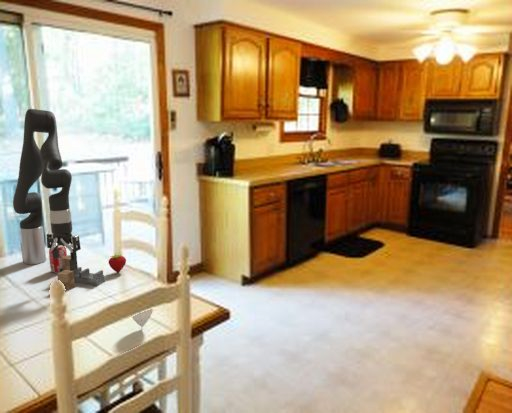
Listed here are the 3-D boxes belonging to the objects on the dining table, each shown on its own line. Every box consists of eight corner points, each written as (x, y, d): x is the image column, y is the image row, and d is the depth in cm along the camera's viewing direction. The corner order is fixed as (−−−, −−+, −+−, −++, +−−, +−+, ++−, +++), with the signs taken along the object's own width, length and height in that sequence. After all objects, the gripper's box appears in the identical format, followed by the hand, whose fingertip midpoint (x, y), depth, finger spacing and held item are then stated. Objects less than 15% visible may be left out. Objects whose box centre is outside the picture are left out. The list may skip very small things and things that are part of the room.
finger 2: (67, 291, 165) (66, 274, 163) (59, 289, 166) (57, 273, 165) (75, 286, 169) (74, 270, 168) (68, 285, 170) (66, 269, 169)
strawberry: (128, 273, 184) (126, 252, 181) (110, 276, 180) (109, 254, 178) (125, 269, 189) (123, 248, 186) (108, 272, 185) (106, 250, 183)
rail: (57, 280, 176) (56, 268, 174) (66, 275, 180) (65, 265, 179) (96, 286, 170) (95, 274, 168) (104, 281, 174) (103, 270, 173)
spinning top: (144, 320, 142) (143, 288, 139) (158, 328, 137) (157, 294, 134) (125, 329, 136) (123, 295, 133) (139, 337, 131) (137, 302, 129)
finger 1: (62, 273, 175) (61, 258, 173) (69, 270, 178) (68, 255, 177) (71, 275, 173) (70, 259, 172) (78, 271, 177) (76, 256, 175)
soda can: (71, 268, 189) (68, 243, 186) (62, 274, 182) (60, 248, 179) (56, 267, 189) (54, 242, 187) (47, 273, 182) (44, 247, 180)
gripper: (38, 221, 160) (43, 260, 163) (68, 224, 156) (72, 264, 159) (53, 216, 167) (57, 254, 170) (82, 219, 163) (86, 258, 166)
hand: (65, 259), depth 165 cm, fingers open, 8 cm apart
